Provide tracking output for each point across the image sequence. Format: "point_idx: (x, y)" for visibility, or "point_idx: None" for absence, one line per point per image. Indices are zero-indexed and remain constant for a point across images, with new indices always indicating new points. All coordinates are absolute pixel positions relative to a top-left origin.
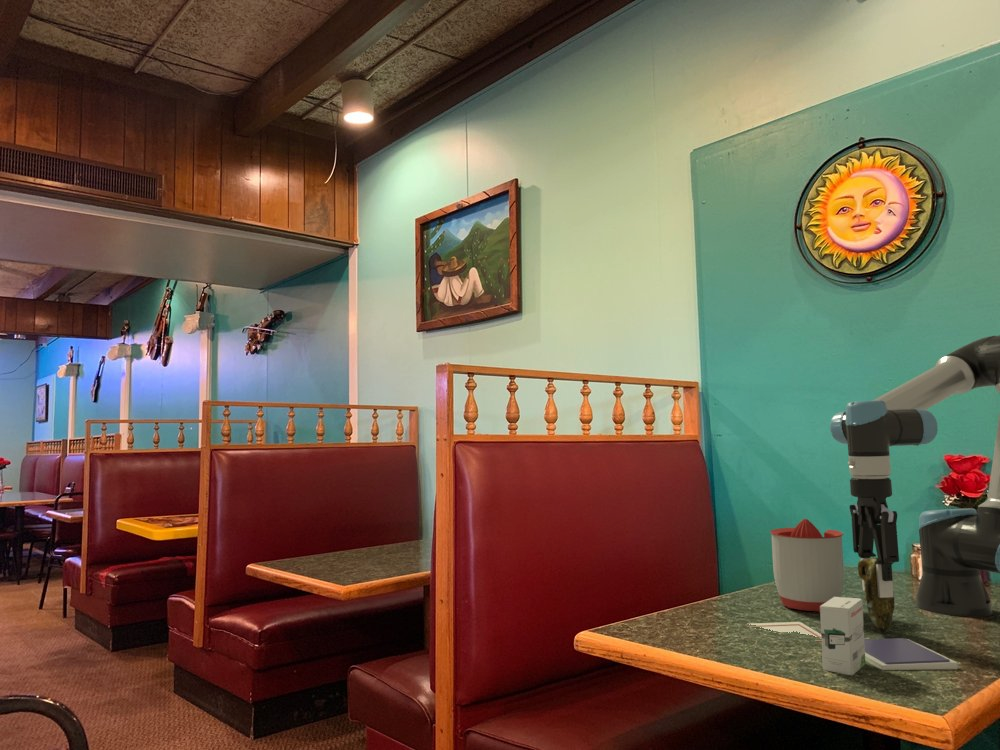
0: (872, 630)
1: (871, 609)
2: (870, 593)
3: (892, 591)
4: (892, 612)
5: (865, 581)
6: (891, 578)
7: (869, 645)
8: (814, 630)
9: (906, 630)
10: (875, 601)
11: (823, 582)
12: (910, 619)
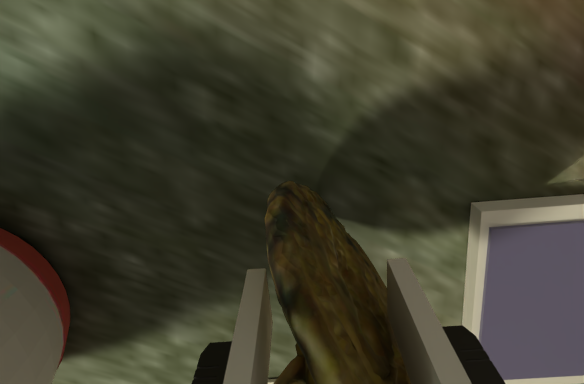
0: None
1: None
2: None
3: (413, 276)
4: (300, 188)
5: (269, 349)
6: (475, 341)
7: (538, 349)
8: None
9: (290, 117)
10: None
11: (24, 371)
12: (129, 21)
